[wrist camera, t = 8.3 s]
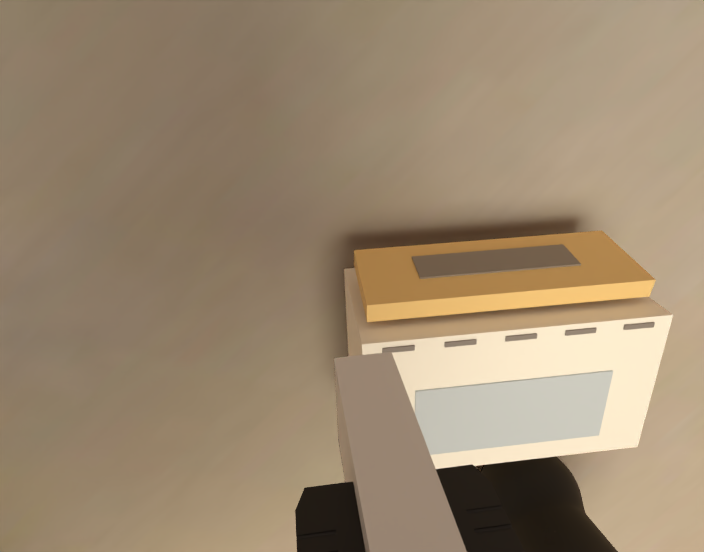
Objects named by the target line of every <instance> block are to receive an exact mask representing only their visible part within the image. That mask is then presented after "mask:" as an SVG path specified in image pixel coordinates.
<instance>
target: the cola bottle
mask: <svg viewBox="0 0 704 552" xmlns="http://www.w3.org/2000/svg"><path fill="white" fill-rule="evenodd" d="M481 473H482V474H483V475H484V476H485V477H486V478H487V479H488V480H489V481H490V482H491V483H492V485H493V487H494V489H495V491H496V493H497V495H498V497H499V500H500V502H501V504H502V508H503V509H504V510H505V512H506V514H507V516H508V518H509V520H510V522H511V526H512V528H514V530H515V532H516V534H517V536H518V538H519V540H520V542H521V544H522V546H523V548H524V550H525V552H618V551H617V550H616V549H615V548H614V547H613V546H612V544H611V543H610V542H609V541H608V540H607V539H606V537H605V536H604V535H603V534H602V533H601V531H600V530H599V529H598V528H597V527H596V526H595V524H594V523H593V522H592V521H591V520H590V519H589V517H588V516H587V515H586V513H585V510H584V507H583V502H582V497H581V493H580V490H579V487H578V484H577V482H576V480H575V478H574V476H573V475H572V473H571V472H570V471H569V469H568V468H567V467H566V466H565V465H564V464H563V463H562V462H561V461H560V460H559V459H558V458H557V457H556V456H555V457H546V458H538V459H529V460H521V461H512V462H504V463H495V464H487V465H485V466H484V467H483V469H482V471H481Z"/></svg>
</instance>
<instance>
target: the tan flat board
mask: <svg viewBox="0 0 704 552" xmlns="http://www.w3.org/2000/svg"><path fill="white" fill-rule="evenodd" d="M354 267H355V271H356V276H357V280H358V284H359V289H360V293H361V298H362V302H363V307H364V311H365V316H366V320H367V322H375V321H386V320H397V319H408V318H419V317H430V316H441V315H452V314H463V313H474V312H485V311H496V310H507V309H517V308H528V307H539V306H550V305H561V304H572V303H583V302H594V301H605V300H616V299H627V298H638V297H649V296H650V294H651V291H652V288H653V286H654V283H655V279H654V278H653V277H652V276H651V275H650V274H649V273H648V272H647V271H645V270H644V269H643V268H642V267H641V266H640V265H639V264H638V263H637V262H636V261H635V260H633V259H632V258H631V257H630V256H629V255H628V254H627V253H626V252H625V251H624V250H622V249H621V248H620V247H619V246H618V245H617V244H616V243H615V242H614V241H613V240H612V239H610V238H609V237H608V236H607V235H606V234H605V233H604V232H603V231H591V232H578V233H565V234H553V235H540V236H527V237H515V238H502V239H489V240H477V241H464V242H451V243H439V244H426V245H413V246H401V247H388V248H375V249H363V250H354Z"/></svg>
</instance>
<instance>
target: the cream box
mask: <svg viewBox="0 0 704 552" xmlns="http://www.w3.org/2000/svg"><path fill="white" fill-rule="evenodd" d="M344 279H345V299H346V320H347V340H348V356H357V355H367V354H376V353H386V352H392V354H393V357H394V360H395V362H396V365H397V368H398V370H399V373H400V376H401V378H402V381H403V384H404V386H405V389H406V392H407V394H408V397H409V400H410V402H411V405H412V408H413V410H414V413H415V415H416V418H417V421H418V423H419V426H420V429H421V431H422V434H423V437H424V439H425V442H426V445H427V447H428V450H429V453H430V455H431V458H432V461H433V463H434V466H435V469H441V468H448V467H456V466H464V465H471V464H472V465H473V466H478V465H487V464H495V463H504V462H512V461H521V460H529V459H538V458H546V457H555V456H563V455H572V454H580V453H589V452H597V451H606V450H614V449H623V448H631V447H638V443H639V439H640V436H641V432H642V428H643V424H644V421H645V417H646V413H647V410H648V406H649V402H650V399H651V395H652V391H653V387H654V384H655V380H656V376H657V373H658V369H659V365H660V362H661V358H662V354H663V350H664V347H665V343H666V339H667V336H668V332H669V328H670V325H671V321H672V317H673V314H671V313H670V312H669V311H667V310H666V309H664V308H663V307H662V306H660V305H659V304H657V303H656V302H655V301H653V300H652V299H651V298H649V297H638V298H627V299H616V300H605V301H594V302H583V303H572V304H561V305H550V306H539V307H528V308H517V309H507V310H496V311H485V312H474V313H463V314H452V315H441V316H430V317H419V318H408V319H397V320H386V321H375V322H367V320H366V316H365V311H364V307H363V302H362V298H361V293H360V289H359V284H358V280H357V276H356V271H355V268H346V269H344Z"/></svg>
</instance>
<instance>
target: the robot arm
mask: <svg viewBox="0 0 704 552" xmlns="http://www.w3.org/2000/svg"><path fill="white" fill-rule="evenodd" d="M334 369H335V387H336V405H337V423H338V441H339V447H340V453H341V459H342V466H343V472H344V478H345V483H338V484H330V485H323V486H315V487H307V488H304V491H303V493H302V496H301V498H300V501H299V503H298V505H297V508H296V510H295V512H296V536H297V552H525V550H524V548H523V546H522V544H521V542H520V540H519V538H518V536H517V534H516V532H515V530H514V528H512V526H511V522H510V520H509V518H508V516H507V514H506V512H505V510H504V509H503V508H502V504H501V502H500V500H499V497H498V495H497V493H496V491H495V489H494V487H493V485H492V483H491V482H490V481H489V480H488V479H487V478H486V477H485V476H484V475H483V474H482V473H481V472H480V471H479V470H478V469H476V468H475V467H474V466H473V465H472V464H471V465H464V466H456V467H448V468H441V469H435V466H434V463H433V461H432V458H431V455H430V453H429V450H428V447H427V445H426V442H425V439H424V437H423V434H422V431H421V429H420V426H419V423H418V421H417V418H416V415H415V413H414V410H413V408H412V405H411V402H410V400H409V397H408V394H407V392H406V389H405V386H404V384H403V381H402V378H401V376H400V373H399V370H398V368H397V365H396V362H395V360H394V357H393V354H392V352H386V353H376V354H367V355H357V356H348V357H338V358H334Z"/></svg>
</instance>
